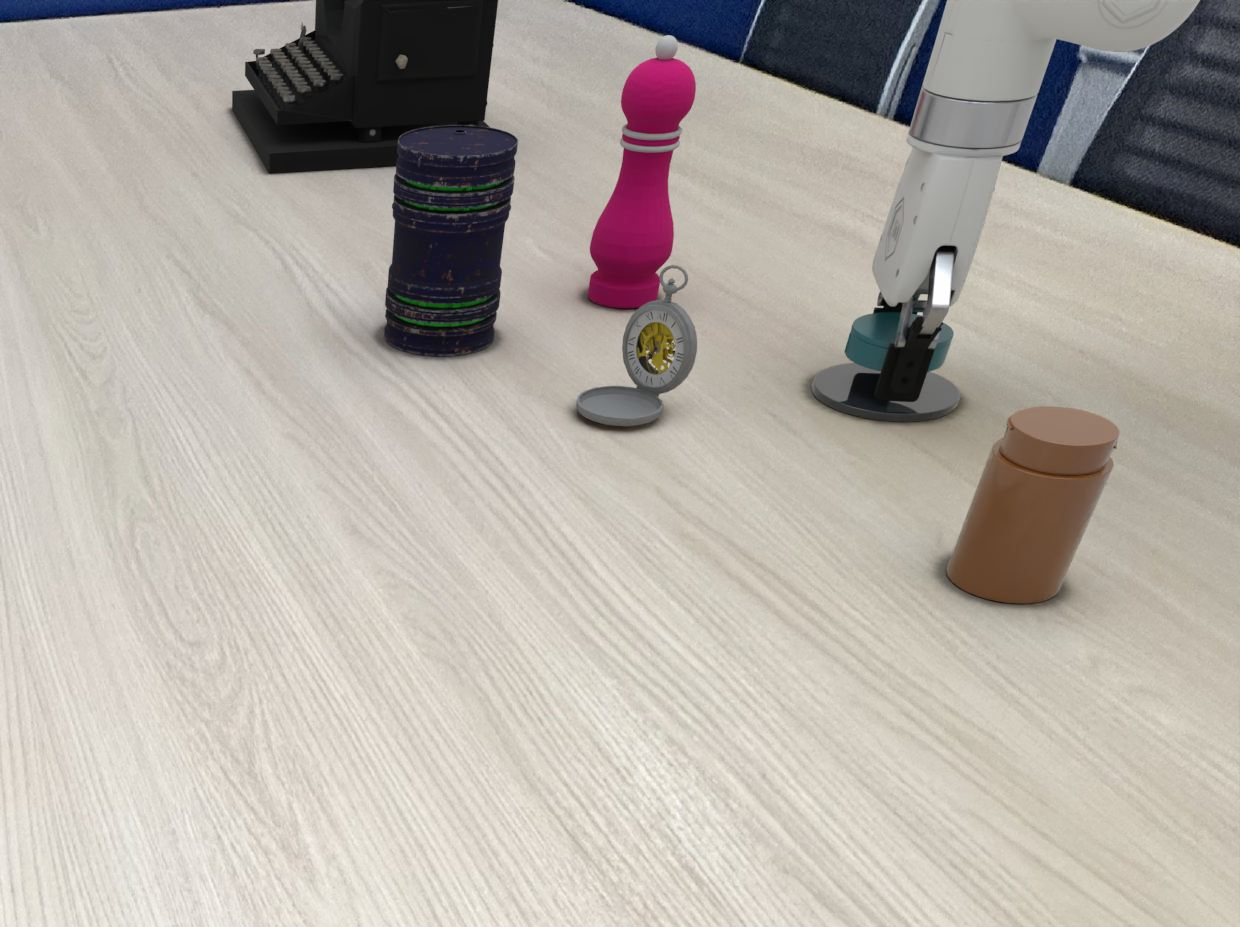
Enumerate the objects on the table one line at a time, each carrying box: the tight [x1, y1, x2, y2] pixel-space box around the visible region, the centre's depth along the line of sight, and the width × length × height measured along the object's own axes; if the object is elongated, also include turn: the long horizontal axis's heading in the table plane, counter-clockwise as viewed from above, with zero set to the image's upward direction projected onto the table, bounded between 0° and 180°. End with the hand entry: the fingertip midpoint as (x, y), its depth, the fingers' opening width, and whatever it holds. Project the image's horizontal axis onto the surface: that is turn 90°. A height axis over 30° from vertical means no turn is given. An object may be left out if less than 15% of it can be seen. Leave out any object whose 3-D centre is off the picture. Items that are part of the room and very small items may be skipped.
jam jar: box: [946, 405, 1121, 605], centre depth 90 cm, size 7×7×10 cm
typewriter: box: [231, 0, 499, 175], centre depth 167 cm, size 31×27×25 cm
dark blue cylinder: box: [383, 125, 519, 357], centre depth 121 cm, size 10×10×15 cm
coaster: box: [811, 362, 961, 423], centre depth 115 cm, size 11×11×1 cm
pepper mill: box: [587, 34, 697, 310], centre depth 125 cm, size 7×7×20 cm
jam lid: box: [843, 312, 955, 372], centre depth 112 cm, size 7×7×2 cm
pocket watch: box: [575, 264, 698, 427], centre depth 110 cm, size 8×8×10 cm
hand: (887, 378), depth 114 cm, fingers closed on jam lid, 7 cm apart
